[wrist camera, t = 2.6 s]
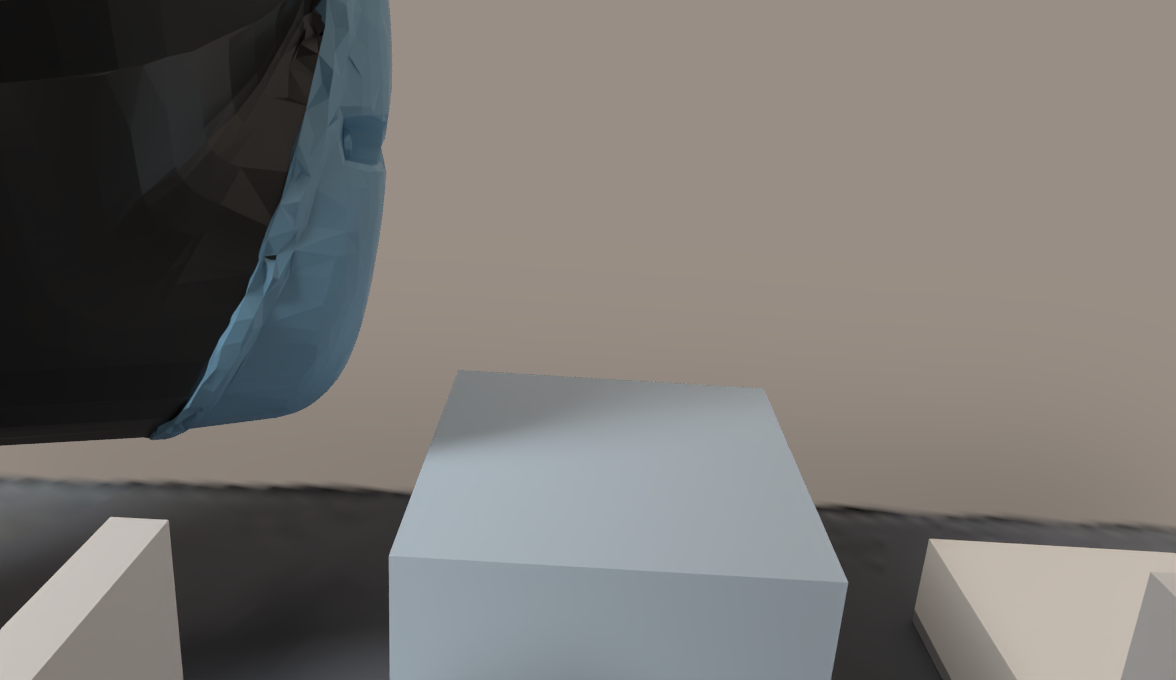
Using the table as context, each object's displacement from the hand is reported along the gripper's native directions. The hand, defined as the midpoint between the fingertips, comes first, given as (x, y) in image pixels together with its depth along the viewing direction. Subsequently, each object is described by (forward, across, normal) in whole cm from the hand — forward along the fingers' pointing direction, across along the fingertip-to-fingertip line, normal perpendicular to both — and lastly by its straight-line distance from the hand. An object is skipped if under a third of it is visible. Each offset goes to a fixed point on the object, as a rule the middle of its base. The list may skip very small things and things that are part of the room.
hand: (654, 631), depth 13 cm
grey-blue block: (+10, 0, -13) cm, 16 cm away
